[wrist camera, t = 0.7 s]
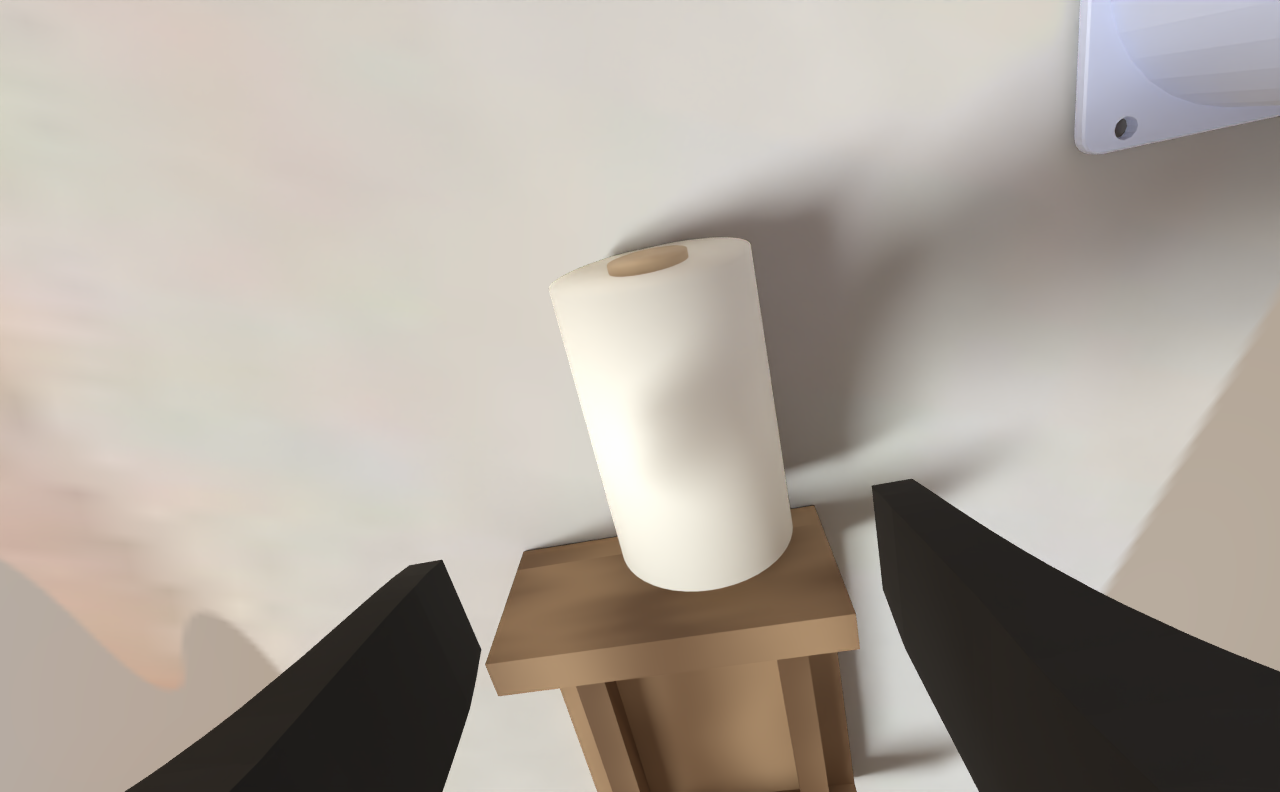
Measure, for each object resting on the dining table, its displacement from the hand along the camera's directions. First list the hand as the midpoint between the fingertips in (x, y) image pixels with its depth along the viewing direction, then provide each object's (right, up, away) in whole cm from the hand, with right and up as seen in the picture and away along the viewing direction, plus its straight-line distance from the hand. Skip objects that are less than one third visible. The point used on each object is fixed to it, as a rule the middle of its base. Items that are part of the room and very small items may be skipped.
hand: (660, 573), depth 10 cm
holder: (+2, -8, +13) cm, 16 cm away
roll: (+1, +4, +9) cm, 10 cm away
